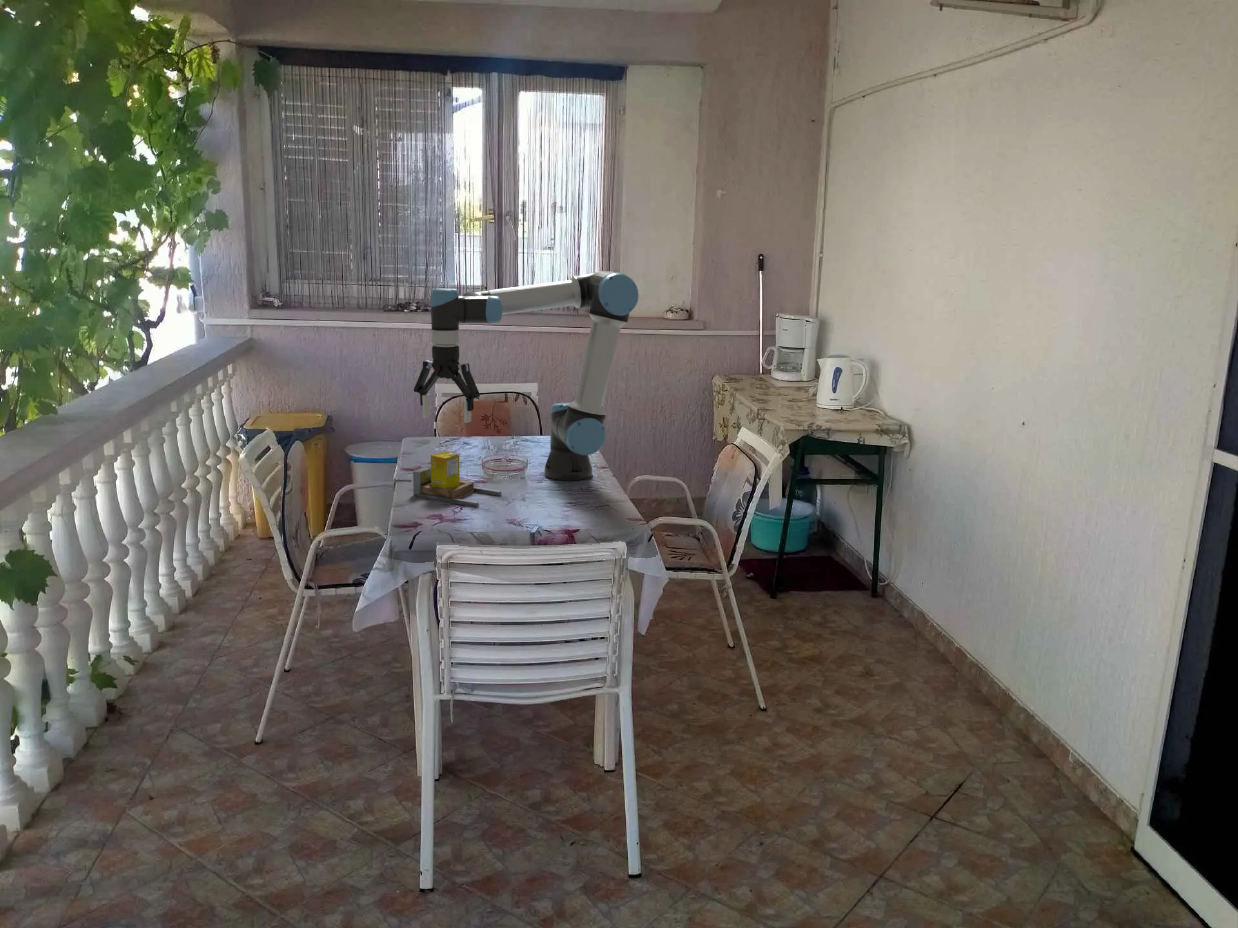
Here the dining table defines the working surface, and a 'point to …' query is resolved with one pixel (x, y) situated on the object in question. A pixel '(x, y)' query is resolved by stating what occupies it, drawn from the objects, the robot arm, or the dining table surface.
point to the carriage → (449, 490)
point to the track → (424, 477)
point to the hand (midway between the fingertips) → (447, 419)
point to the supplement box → (445, 470)
